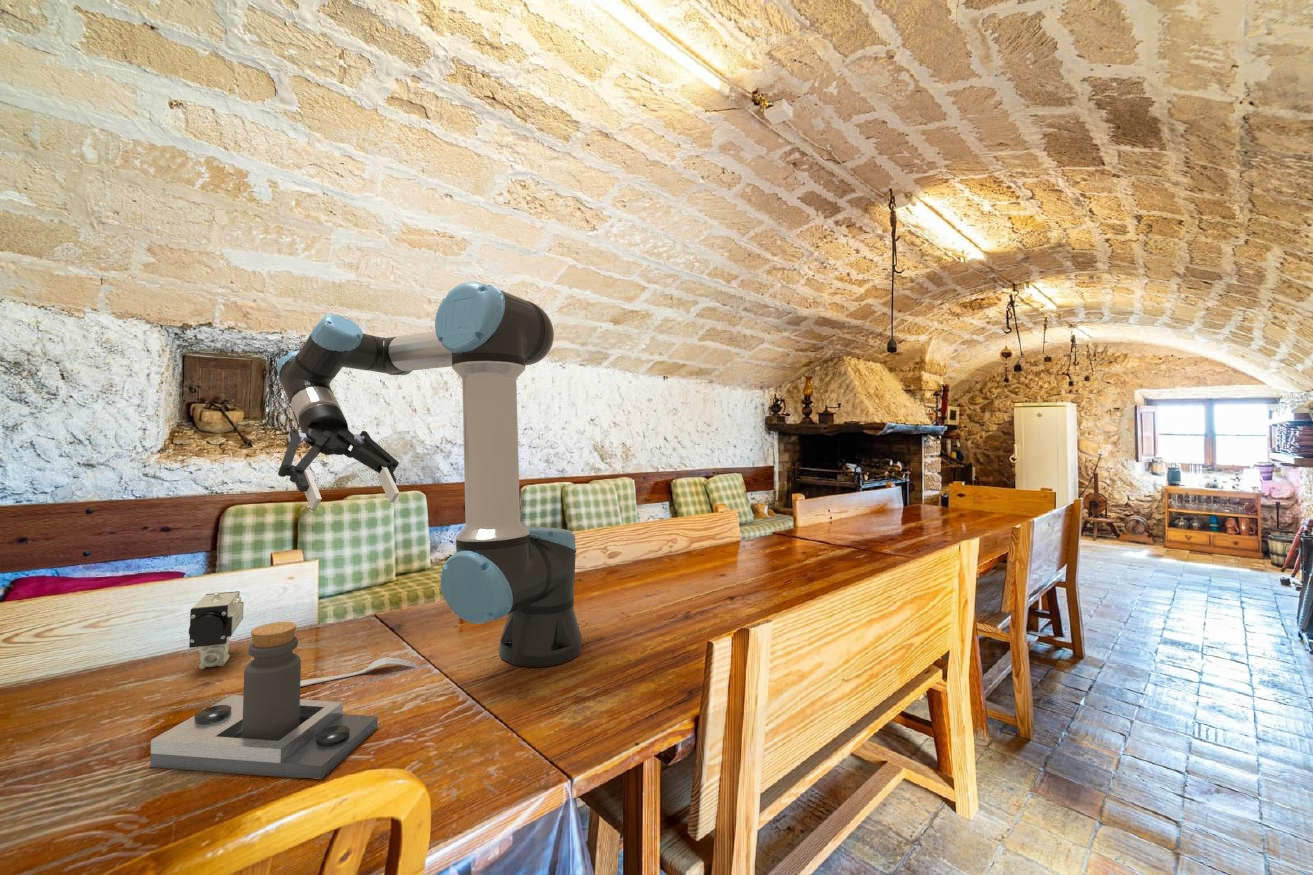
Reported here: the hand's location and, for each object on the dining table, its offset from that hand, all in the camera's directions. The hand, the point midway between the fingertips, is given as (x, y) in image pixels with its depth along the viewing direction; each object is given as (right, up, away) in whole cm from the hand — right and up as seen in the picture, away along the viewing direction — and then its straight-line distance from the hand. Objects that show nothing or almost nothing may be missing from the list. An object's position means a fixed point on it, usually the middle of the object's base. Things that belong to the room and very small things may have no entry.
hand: (358, 501), depth 94 cm
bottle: (+4, -28, -27) cm, 39 cm away
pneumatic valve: (-21, -27, -5) cm, 35 cm away
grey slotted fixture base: (+4, -28, -27) cm, 39 cm away
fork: (+3, -28, -8) cm, 30 cm away
